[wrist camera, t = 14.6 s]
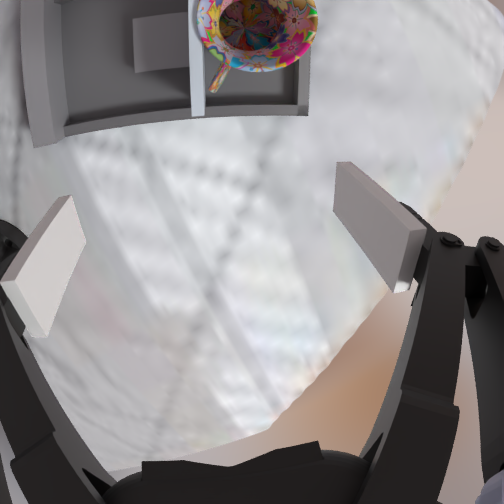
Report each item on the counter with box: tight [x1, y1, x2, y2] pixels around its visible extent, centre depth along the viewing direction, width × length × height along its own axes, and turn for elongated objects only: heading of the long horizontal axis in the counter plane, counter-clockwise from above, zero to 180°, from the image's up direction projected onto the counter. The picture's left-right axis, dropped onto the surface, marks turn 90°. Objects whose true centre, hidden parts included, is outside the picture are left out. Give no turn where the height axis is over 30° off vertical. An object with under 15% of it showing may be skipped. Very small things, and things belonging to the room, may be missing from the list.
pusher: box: [133, 0, 206, 117], centre depth 23 cm, size 7×14×10 cm, turn 0°
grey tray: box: [20, 0, 311, 148], centre depth 26 cm, size 30×17×5 cm, turn 90°
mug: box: [196, 0, 318, 93], centre depth 24 cm, size 12×9×11 cm
